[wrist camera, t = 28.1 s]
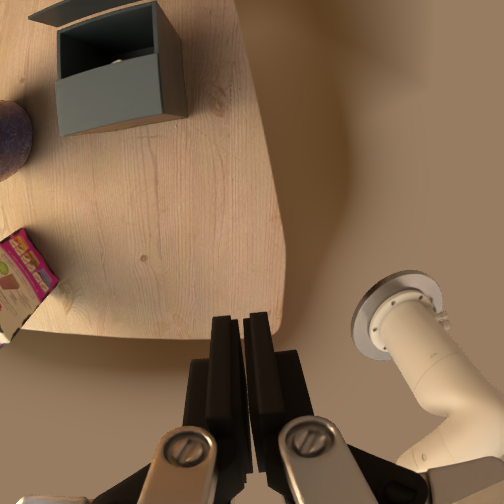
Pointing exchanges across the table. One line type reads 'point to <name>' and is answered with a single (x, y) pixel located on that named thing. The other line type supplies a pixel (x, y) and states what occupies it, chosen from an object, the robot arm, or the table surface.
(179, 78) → the chute
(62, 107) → the panel
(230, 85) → the table surface
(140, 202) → the table surface
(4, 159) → the planter
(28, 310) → the candy bar box
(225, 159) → the table surface
